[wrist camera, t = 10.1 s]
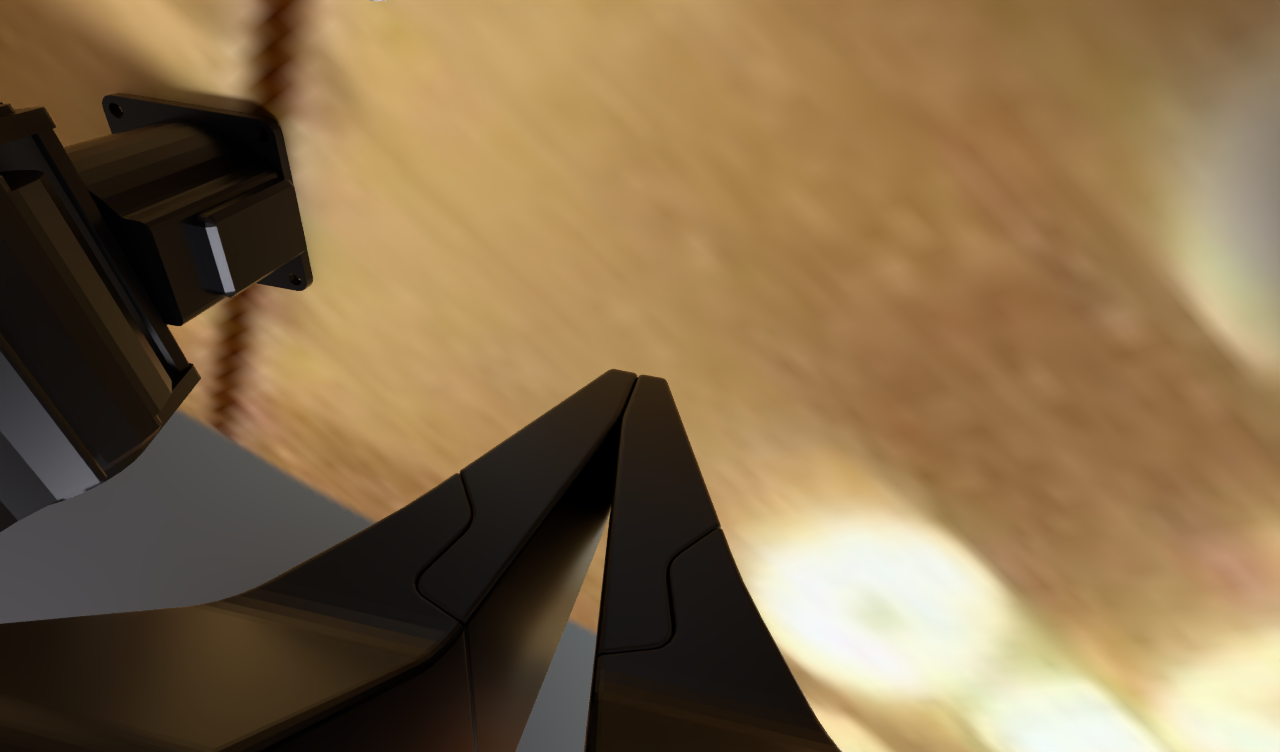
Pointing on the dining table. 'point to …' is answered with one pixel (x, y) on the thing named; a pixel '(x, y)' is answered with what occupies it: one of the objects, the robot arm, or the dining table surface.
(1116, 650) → the dining table surface
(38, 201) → the robot arm
